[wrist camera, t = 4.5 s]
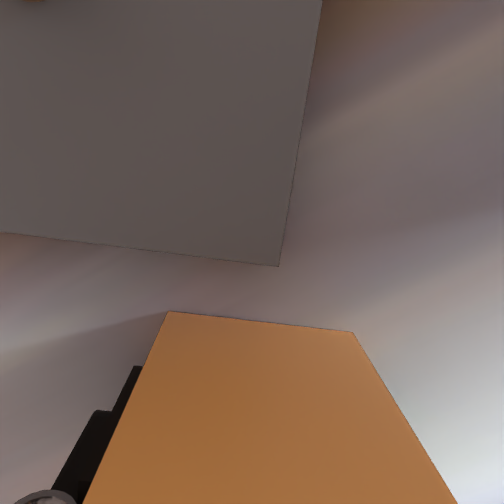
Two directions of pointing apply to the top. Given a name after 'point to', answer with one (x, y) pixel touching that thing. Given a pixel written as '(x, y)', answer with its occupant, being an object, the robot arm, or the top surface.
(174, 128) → the grey board with peg
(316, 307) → the top surface
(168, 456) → the orange wooden cube
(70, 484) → the robot arm
